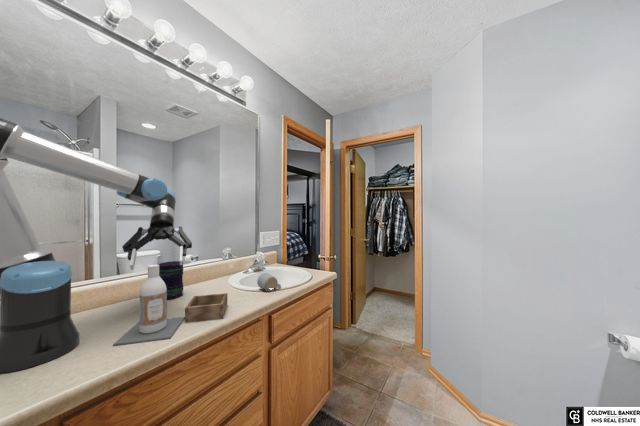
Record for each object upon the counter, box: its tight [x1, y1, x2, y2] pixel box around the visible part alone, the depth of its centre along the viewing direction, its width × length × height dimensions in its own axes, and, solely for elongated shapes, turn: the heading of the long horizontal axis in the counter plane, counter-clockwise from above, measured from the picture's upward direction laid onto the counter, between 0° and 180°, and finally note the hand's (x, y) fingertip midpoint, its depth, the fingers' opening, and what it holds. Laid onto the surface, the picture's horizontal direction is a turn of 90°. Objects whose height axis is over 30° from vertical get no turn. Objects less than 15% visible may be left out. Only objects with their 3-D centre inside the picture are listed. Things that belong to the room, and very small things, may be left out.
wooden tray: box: [184, 292, 228, 324], centre depth 84 cm, size 12×12×5 cm
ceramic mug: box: [256, 272, 282, 292], centre depth 112 cm, size 11×8×8 cm
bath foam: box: [138, 264, 168, 334], centre depth 72 cm, size 7×7×20 cm
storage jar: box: [157, 260, 184, 301], centre depth 102 cm, size 10×10×15 cm
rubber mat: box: [112, 316, 185, 347], centre depth 72 cm, size 14×14×1 cm
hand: (157, 265), depth 77 cm, fingers open, 13 cm apart
